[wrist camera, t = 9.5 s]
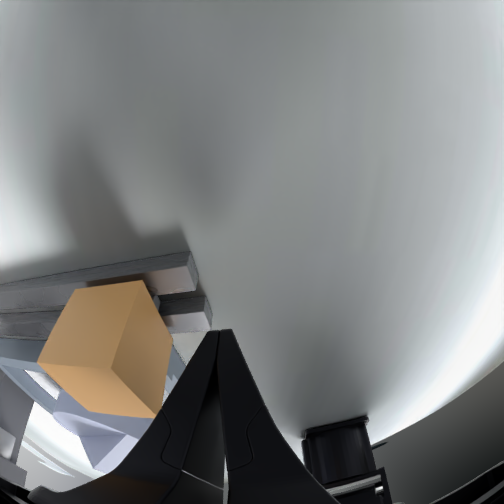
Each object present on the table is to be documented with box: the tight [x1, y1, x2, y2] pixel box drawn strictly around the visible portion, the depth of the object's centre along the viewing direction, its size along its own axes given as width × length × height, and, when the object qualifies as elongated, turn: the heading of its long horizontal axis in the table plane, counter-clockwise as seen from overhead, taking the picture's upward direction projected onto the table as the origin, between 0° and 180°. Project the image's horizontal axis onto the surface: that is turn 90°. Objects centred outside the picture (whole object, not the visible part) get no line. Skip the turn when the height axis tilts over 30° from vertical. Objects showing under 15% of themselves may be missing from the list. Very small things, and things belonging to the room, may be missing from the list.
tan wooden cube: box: [37, 280, 173, 418], centre depth 10 cm, size 4×4×5 cm
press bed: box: [0, 338, 186, 487], centre depth 13 cm, size 26×12×12 cm, turn 99°
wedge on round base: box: [52, 387, 154, 474], centre depth 18 cm, size 9×7×13 cm
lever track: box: [0, 251, 212, 337], centre depth 12 cm, size 17×4×1 cm, turn 99°
